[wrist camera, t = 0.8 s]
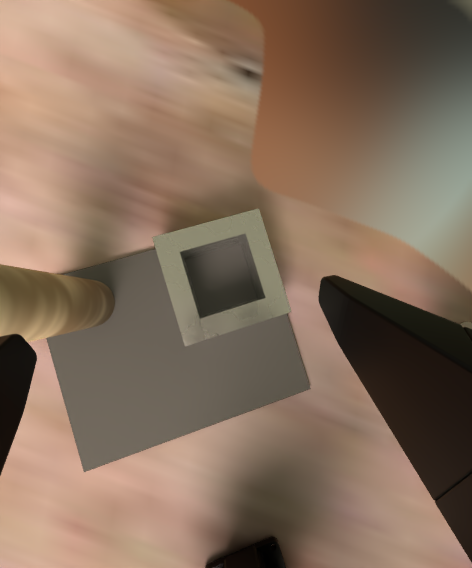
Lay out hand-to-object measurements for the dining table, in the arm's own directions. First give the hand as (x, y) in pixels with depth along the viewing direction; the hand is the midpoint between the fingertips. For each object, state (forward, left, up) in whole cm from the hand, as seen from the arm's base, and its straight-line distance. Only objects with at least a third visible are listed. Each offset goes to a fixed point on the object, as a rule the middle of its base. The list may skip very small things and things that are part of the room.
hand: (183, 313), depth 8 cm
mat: (-2, +3, -15) cm, 15 cm away
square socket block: (+2, -2, -14) cm, 15 cm away
